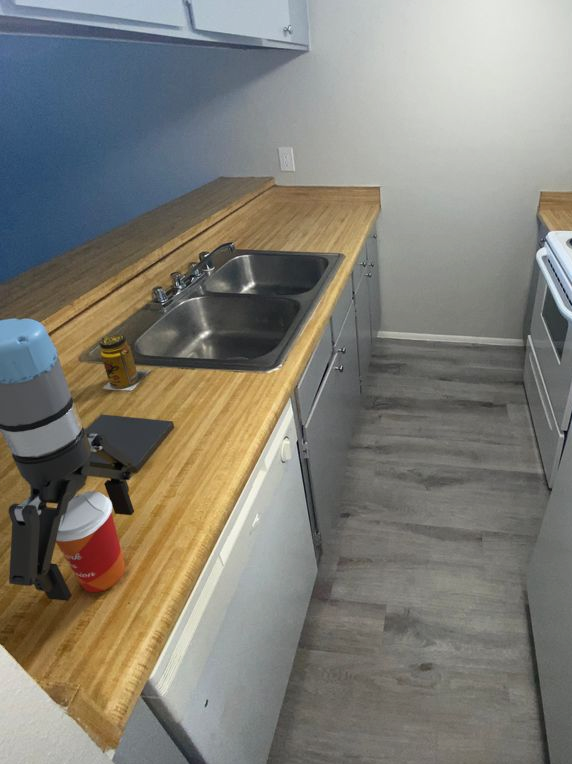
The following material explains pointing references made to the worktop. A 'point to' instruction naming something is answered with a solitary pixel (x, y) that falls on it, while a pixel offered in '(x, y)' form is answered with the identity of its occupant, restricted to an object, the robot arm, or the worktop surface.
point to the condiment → (120, 364)
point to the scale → (130, 438)
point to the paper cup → (91, 541)
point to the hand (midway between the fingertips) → (95, 551)
